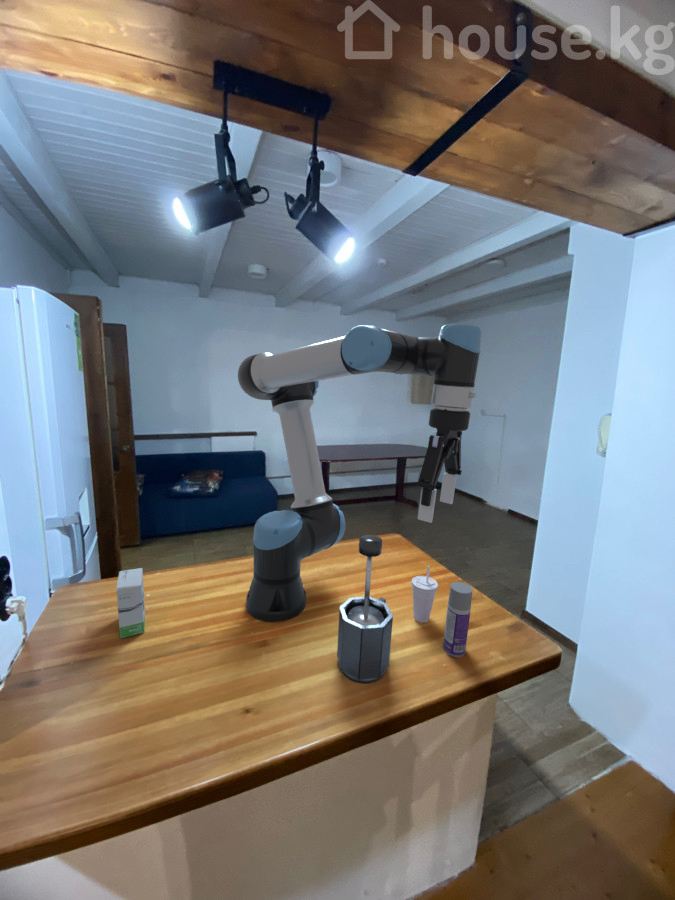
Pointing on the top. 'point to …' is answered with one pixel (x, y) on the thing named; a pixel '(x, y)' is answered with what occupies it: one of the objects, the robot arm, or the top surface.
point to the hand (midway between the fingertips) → (436, 510)
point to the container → (457, 619)
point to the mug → (364, 643)
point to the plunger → (367, 584)
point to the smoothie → (423, 596)
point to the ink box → (131, 602)
